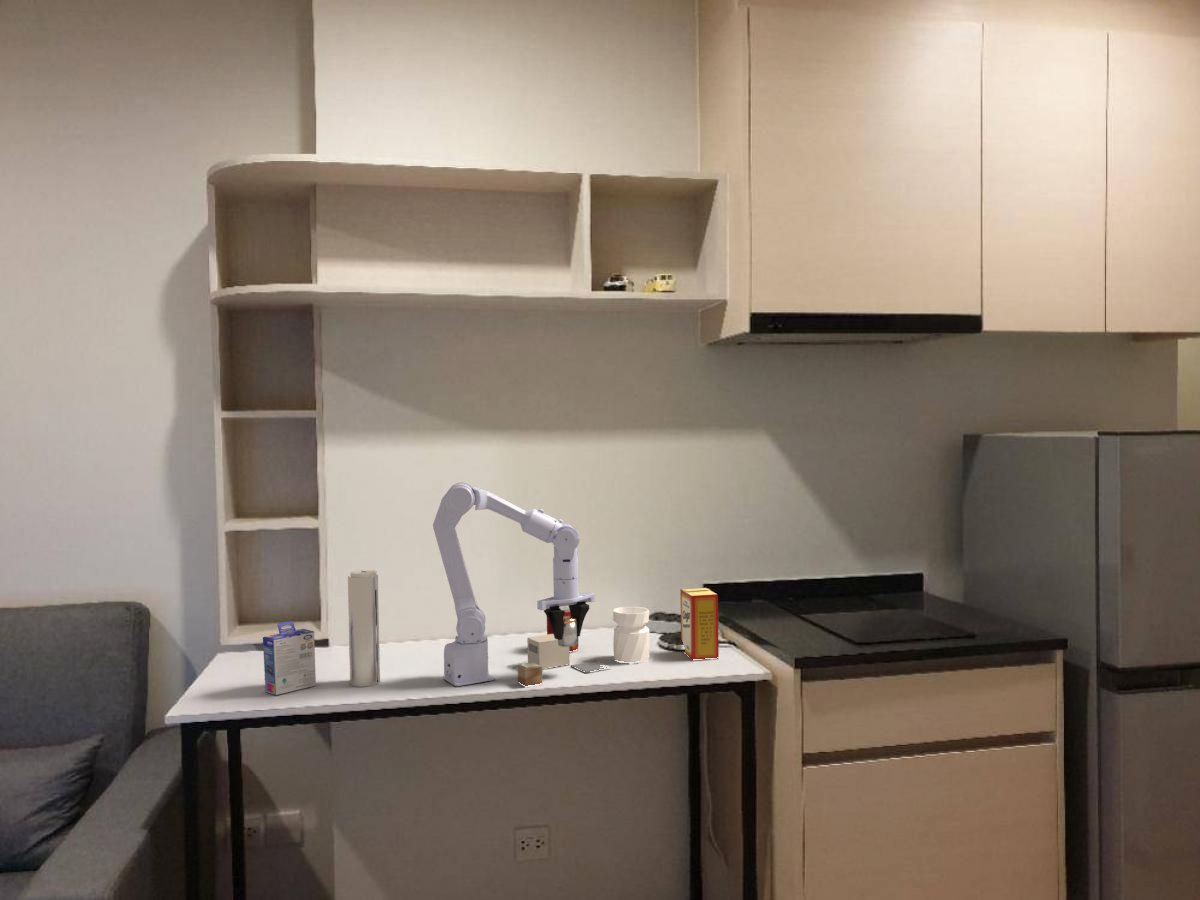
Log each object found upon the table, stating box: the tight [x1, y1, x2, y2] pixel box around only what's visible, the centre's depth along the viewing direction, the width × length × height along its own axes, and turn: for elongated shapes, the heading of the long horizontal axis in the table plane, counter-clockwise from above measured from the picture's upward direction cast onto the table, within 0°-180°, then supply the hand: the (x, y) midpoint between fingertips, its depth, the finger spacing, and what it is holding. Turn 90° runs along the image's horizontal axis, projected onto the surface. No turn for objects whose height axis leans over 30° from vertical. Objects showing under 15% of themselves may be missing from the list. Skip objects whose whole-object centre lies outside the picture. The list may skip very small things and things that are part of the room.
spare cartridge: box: [558, 616, 577, 647], centre depth 202 cm, size 4×4×6 cm
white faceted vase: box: [612, 606, 651, 662], centre depth 215 cm, size 9×9×12 cm
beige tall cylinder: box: [347, 569, 381, 688], centre depth 198 cm, size 6×6×25 cm
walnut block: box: [517, 662, 543, 686], centre depth 196 cm, size 4×4×4 cm
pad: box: [570, 660, 607, 672], centre depth 208 cm, size 7×7×1 cm
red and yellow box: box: [679, 587, 720, 661], centre depth 218 cm, size 10×6×16 cm
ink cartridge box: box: [262, 620, 317, 696], centre depth 195 cm, size 10×6×14 cm, turn 138°
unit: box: [526, 634, 570, 670], centre depth 211 cm, size 8×6×6 cm
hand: (567, 637), depth 203 cm, fingers closed on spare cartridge, 4 cm apart
